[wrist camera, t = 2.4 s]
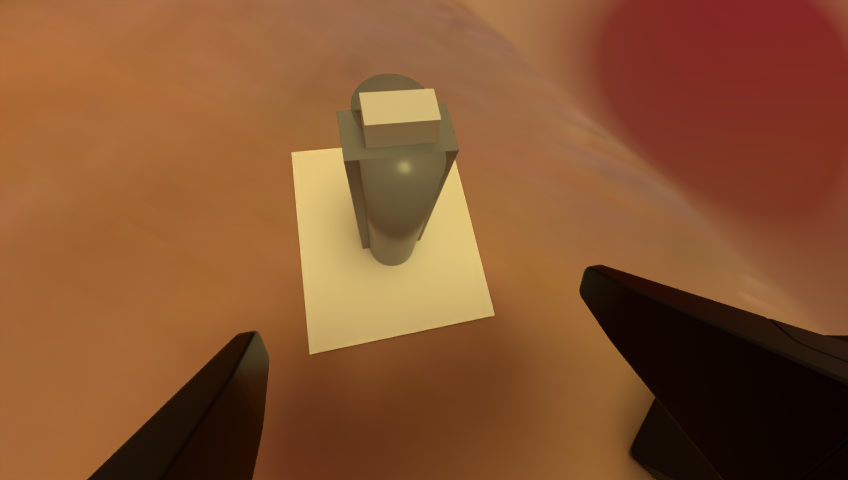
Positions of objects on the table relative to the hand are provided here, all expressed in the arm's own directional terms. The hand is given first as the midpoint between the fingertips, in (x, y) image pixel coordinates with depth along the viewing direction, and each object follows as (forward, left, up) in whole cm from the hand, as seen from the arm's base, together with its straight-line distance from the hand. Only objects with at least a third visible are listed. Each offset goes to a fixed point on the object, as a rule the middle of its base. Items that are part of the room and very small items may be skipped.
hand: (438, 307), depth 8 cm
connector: (+6, +3, -12) cm, 13 cm away
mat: (+6, +3, -12) cm, 14 cm away
